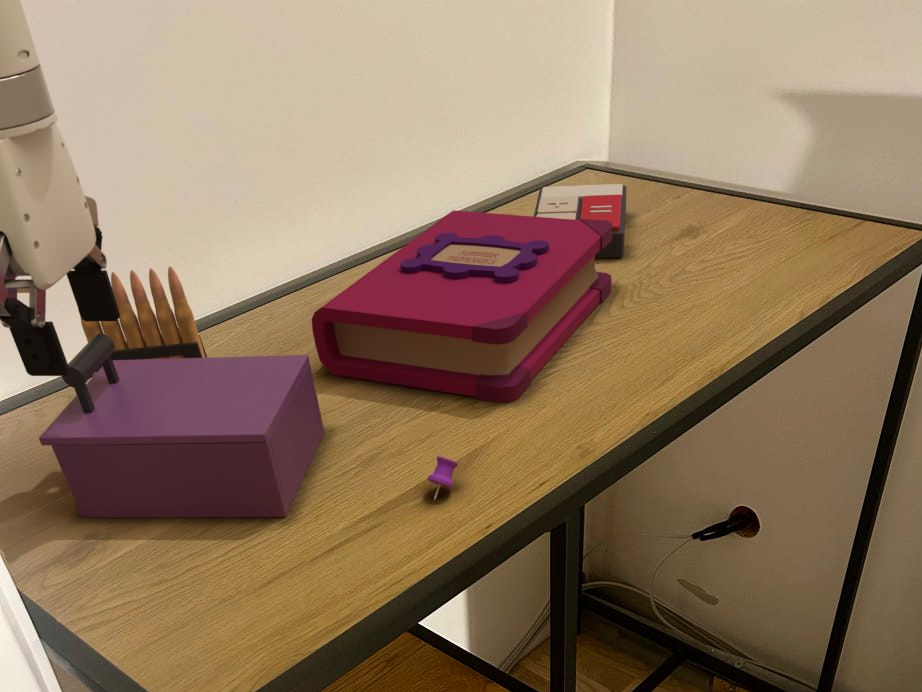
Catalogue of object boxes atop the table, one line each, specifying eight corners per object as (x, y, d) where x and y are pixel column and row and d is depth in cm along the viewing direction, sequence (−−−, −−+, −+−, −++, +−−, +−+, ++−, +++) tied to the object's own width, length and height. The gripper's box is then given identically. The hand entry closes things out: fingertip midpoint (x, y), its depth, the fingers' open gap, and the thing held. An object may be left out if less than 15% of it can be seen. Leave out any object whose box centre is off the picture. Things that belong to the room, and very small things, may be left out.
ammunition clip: (216, 383, 95) (182, 261, 87) (213, 391, 94) (178, 269, 86) (109, 393, 95) (66, 273, 87) (105, 402, 94) (60, 281, 86)
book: (320, 374, 95) (305, 299, 90) (447, 270, 113) (440, 202, 108) (513, 404, 87) (508, 324, 82) (616, 287, 105) (617, 215, 100)
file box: (81, 517, 78) (50, 445, 74) (142, 435, 88) (118, 367, 84) (285, 517, 76) (266, 443, 71) (324, 432, 86) (310, 362, 81)
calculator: (528, 229, 111) (539, 182, 121) (530, 266, 114) (540, 216, 124) (624, 226, 109) (626, 178, 119) (623, 263, 112) (625, 213, 122)
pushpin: (423, 497, 76) (419, 464, 74) (444, 479, 78) (440, 446, 76) (445, 503, 76) (441, 470, 74) (465, 485, 77) (462, 452, 75)
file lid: (41, 446, 74) (17, 390, 71) (110, 367, 84) (91, 315, 81) (266, 442, 71) (251, 384, 68) (310, 362, 81) (298, 308, 78)
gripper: (1, 75, 71) (78, 302, 82) (-136, 140, 58) (-22, 398, 69) (97, 72, 70) (161, 301, 81) (-21, 137, 57) (75, 398, 68)
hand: (76, 345), depth 75 cm, fingers open, 9 cm apart
